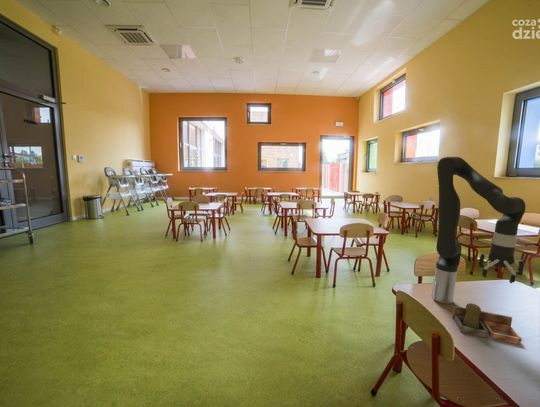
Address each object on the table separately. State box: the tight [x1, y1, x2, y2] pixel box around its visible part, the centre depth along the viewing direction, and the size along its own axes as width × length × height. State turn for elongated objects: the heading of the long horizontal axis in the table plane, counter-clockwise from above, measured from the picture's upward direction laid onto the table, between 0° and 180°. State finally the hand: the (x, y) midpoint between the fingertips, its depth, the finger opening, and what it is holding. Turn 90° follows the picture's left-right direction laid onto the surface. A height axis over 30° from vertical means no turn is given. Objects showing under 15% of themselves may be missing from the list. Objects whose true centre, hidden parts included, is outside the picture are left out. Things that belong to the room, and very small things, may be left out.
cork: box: [462, 302, 482, 329], centre depth 114 cm, size 6×6×11 cm
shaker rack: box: [451, 305, 522, 346], centre depth 113 cm, size 21×11×6 cm, turn 68°
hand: (497, 279), depth 114 cm, fingers open, 8 cm apart
